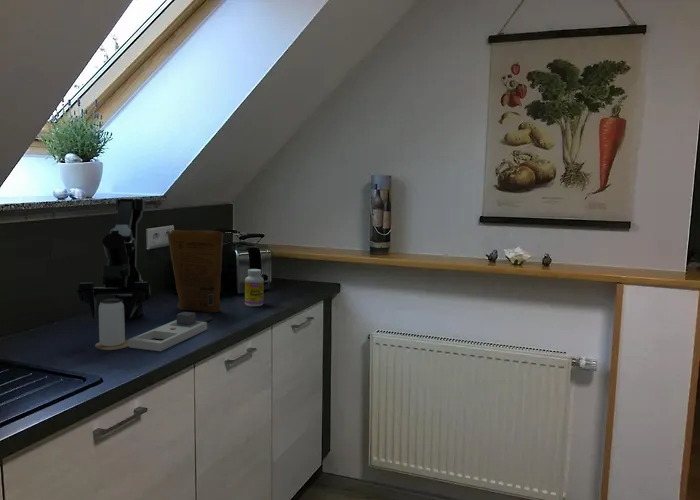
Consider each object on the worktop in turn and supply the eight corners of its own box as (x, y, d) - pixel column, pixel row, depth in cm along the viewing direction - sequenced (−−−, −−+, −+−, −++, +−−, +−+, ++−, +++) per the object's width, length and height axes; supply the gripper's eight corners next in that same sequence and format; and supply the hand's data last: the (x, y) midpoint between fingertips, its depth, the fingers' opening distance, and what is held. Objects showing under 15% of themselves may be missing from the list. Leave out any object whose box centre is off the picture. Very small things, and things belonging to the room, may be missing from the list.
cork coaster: (87, 347, 162) (87, 346, 162) (110, 339, 170) (110, 337, 170) (116, 351, 159) (116, 350, 159) (137, 342, 168) (137, 341, 168)
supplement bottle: (248, 307, 213) (248, 271, 211) (242, 303, 219) (242, 268, 217) (266, 306, 216) (266, 270, 214) (260, 302, 222) (260, 268, 220)
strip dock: (128, 347, 163) (128, 338, 163) (178, 326, 186) (178, 318, 186) (160, 351, 161) (160, 342, 160) (207, 329, 183) (207, 321, 183)
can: (110, 348, 161) (109, 304, 159) (94, 344, 164) (92, 301, 162) (130, 342, 166) (129, 300, 165) (113, 339, 169) (112, 297, 168)
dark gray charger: (176, 324, 180) (176, 314, 179) (184, 321, 184) (184, 311, 183) (188, 325, 179) (188, 315, 178) (195, 322, 182) (195, 312, 182)
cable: (198, 327, 185) (198, 324, 185) (195, 327, 186) (195, 323, 185) (213, 319, 196) (213, 316, 195) (210, 319, 196) (210, 316, 196)
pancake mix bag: (219, 314, 202) (218, 231, 198) (167, 310, 206) (166, 228, 202) (227, 310, 208) (227, 229, 205) (177, 306, 213) (176, 227, 209)
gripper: (77, 253, 164) (68, 302, 155) (149, 253, 168) (145, 300, 159) (84, 276, 173) (76, 324, 164) (152, 276, 177) (149, 322, 167)
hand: (111, 317), depth 163 cm, fingers open, 9 cm apart
